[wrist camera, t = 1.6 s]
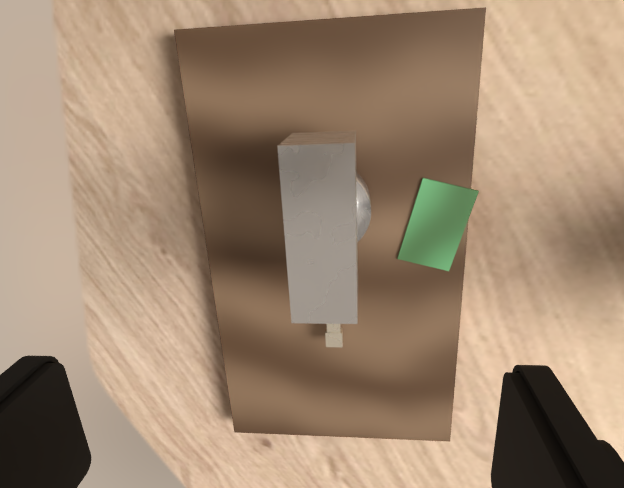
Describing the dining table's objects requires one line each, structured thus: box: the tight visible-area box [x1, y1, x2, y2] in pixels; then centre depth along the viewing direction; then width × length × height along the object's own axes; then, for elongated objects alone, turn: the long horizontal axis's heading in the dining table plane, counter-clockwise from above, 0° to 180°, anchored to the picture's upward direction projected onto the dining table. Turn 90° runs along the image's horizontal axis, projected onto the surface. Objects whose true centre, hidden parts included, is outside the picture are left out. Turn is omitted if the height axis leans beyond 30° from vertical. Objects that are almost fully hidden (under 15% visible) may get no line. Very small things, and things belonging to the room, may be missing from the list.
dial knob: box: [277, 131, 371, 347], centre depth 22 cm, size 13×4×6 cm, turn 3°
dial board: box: [174, 8, 486, 441], centre depth 26 cm, size 26×15×2 cm, turn 3°
